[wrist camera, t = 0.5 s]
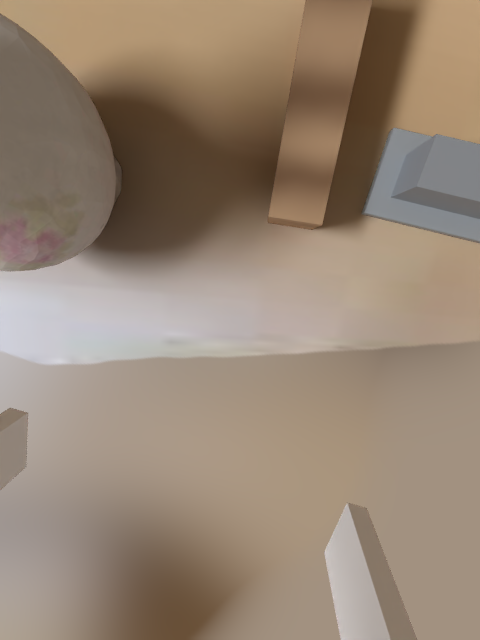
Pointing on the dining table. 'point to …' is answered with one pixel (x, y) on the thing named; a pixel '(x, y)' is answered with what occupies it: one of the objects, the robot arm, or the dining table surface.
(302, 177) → the walnut bar
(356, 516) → the robot arm
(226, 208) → the dining table surface
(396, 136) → the fulcrum
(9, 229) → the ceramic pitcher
